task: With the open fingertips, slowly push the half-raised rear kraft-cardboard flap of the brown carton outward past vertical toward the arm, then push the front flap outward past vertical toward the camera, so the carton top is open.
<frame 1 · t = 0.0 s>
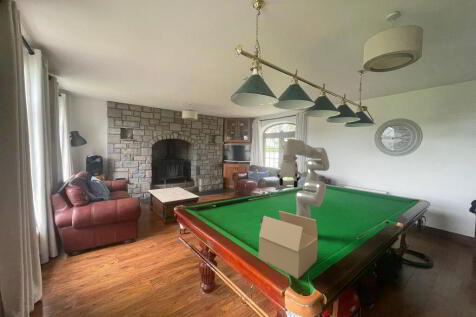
hand: (288, 186, 113), 37 cm above the table, tool pointing down, fingers open, 9 cm apart
carton: (287, 260, 96), on the table
front flap: (279, 231, 90), point 17 cm above the table, hinge at 70.0°
rear flap: (297, 223, 103), point 17 cm above the table, hinge at 70.0°
supplement box: (266, 244, 114), on the table
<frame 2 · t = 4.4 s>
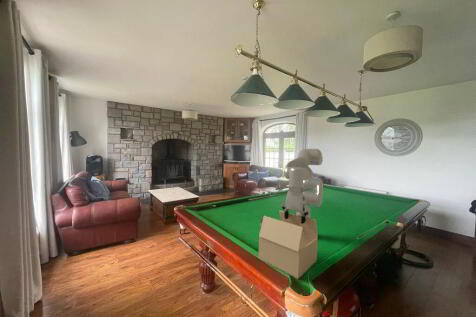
hand: (294, 220, 101), 19 cm above the table, tool pointing down
rear flap: (297, 223, 103), point 17 cm above the table, hinge at 71.2°, touching gripper
everything else where it was.
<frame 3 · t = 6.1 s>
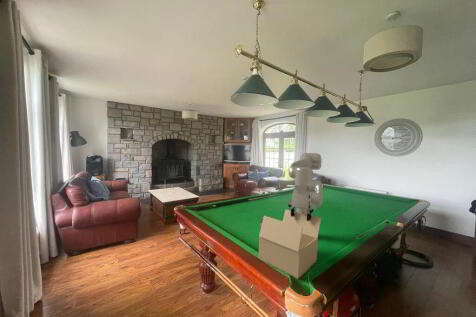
hand: (300, 218, 106), 20 cm above the table, tool pointing down
rear flap: (300, 222, 106), point 17 cm above the table, hinge at 114.3°, touching gripper
everything else where it was.
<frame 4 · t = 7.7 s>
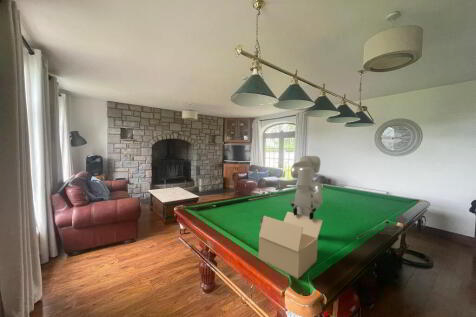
hand: (303, 216, 108), 20 cm above the table, tool pointing down
rear flap: (301, 223, 107), point 16 cm above the table, hinge at 132.0°, touching gripper
everything else where it was.
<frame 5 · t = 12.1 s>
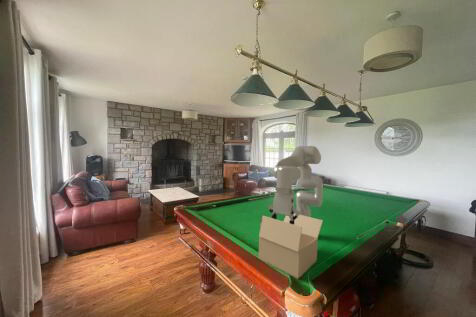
hand: (282, 225, 91), 20 cm above the table, tool pointing down
front flap: (279, 231, 89), point 17 cm above the table, hinge at 75.6°, touching gripper
rear flap: (301, 223, 107), point 16 cm above the table, hinge at 132.3°
everything else where it was.
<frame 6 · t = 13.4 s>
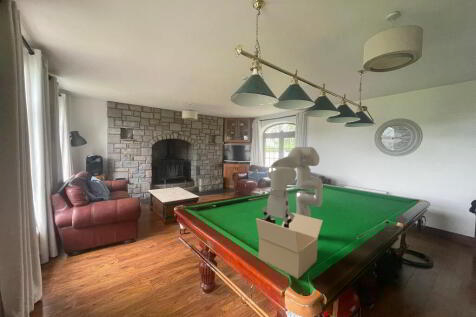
hand: (276, 228, 88), 19 cm above the table, tool pointing down
front flap: (275, 234, 87), point 17 cm above the table, hinge at 108.2°, touching gripper
everything else where it was.
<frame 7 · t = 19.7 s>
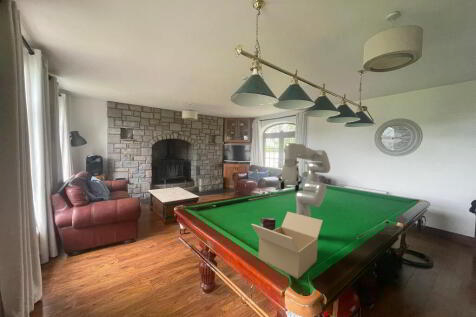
hand: (289, 190, 114), 34 cm above the table, tool pointing down, fingers open, 9 cm apart
front flap: (273, 237, 86), point 16 cm above the table, hinge at 130.0°
everything else where it was.
at the end: rear flap at +132° (first picture: +70°); front flap at +130° (first picture: +70°) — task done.
